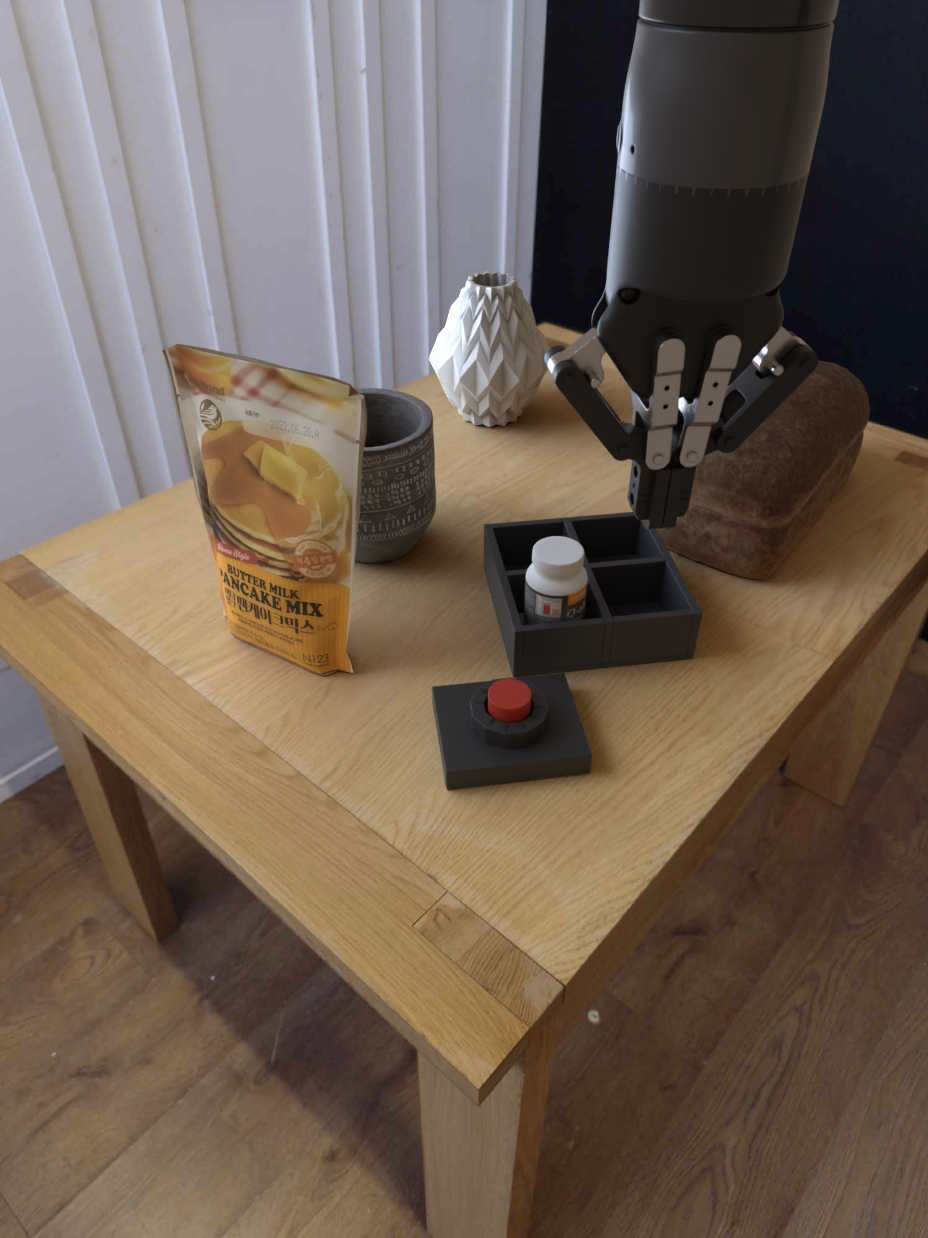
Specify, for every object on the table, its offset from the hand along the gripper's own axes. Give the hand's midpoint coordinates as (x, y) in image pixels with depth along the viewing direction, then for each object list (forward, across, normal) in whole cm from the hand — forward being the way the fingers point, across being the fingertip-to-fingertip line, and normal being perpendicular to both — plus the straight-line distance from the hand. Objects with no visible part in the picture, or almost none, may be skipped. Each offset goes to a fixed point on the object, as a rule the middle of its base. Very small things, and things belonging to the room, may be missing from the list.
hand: (655, 520), depth 46 cm
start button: (+27, -4, +14) cm, 31 cm away
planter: (+31, -14, +46) cm, 57 cm away
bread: (+31, +31, +46) cm, 64 cm away
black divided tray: (+31, +6, +30) cm, 44 cm away
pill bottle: (+30, +2, +26) cm, 40 cm away
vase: (+31, +4, +74) cm, 80 cm away
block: (+31, -4, +14) cm, 34 cm away
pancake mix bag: (+31, -23, +30) cm, 49 cm away
